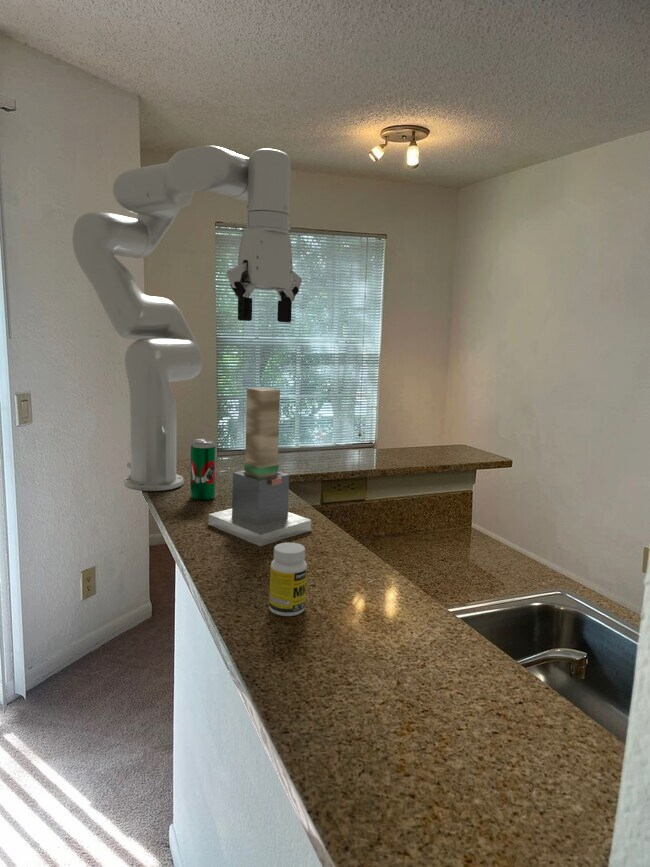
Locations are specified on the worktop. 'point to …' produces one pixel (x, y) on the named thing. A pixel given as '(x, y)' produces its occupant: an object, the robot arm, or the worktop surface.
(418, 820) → the worktop surface
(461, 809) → the worktop surface
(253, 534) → the stand base
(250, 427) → the column
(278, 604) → the supplement bottle
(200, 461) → the soda can
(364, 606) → the worktop surface
